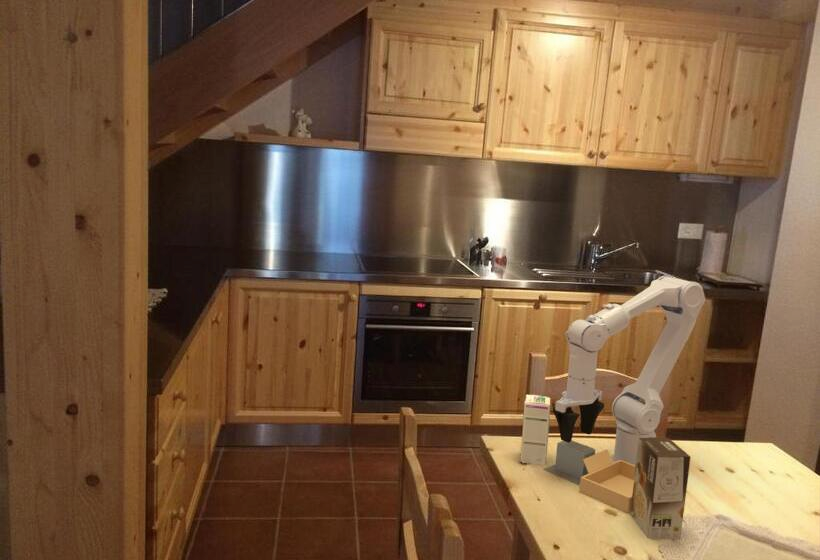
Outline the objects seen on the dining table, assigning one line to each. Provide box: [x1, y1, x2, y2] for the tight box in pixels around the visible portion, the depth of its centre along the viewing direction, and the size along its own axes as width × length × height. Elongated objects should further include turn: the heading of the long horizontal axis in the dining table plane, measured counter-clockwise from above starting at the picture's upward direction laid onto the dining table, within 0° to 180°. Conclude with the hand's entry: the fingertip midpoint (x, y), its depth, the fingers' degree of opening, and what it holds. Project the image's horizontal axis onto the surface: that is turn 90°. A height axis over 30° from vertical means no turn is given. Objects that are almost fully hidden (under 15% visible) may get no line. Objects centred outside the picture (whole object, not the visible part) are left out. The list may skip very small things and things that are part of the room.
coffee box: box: [629, 436, 692, 540], centre depth 126 cm, size 9×6×16 cm
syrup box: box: [520, 394, 551, 466], centre depth 154 cm, size 6×6×14 cm
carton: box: [578, 449, 635, 514], centre depth 140 cm, size 15×15×6 cm
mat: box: [542, 464, 580, 486], centre depth 149 cm, size 9×9×1 cm
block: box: [554, 439, 596, 479], centre depth 148 cm, size 4×7×6 cm, turn 42°
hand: (576, 436), depth 148 cm, fingers open, 7 cm apart
